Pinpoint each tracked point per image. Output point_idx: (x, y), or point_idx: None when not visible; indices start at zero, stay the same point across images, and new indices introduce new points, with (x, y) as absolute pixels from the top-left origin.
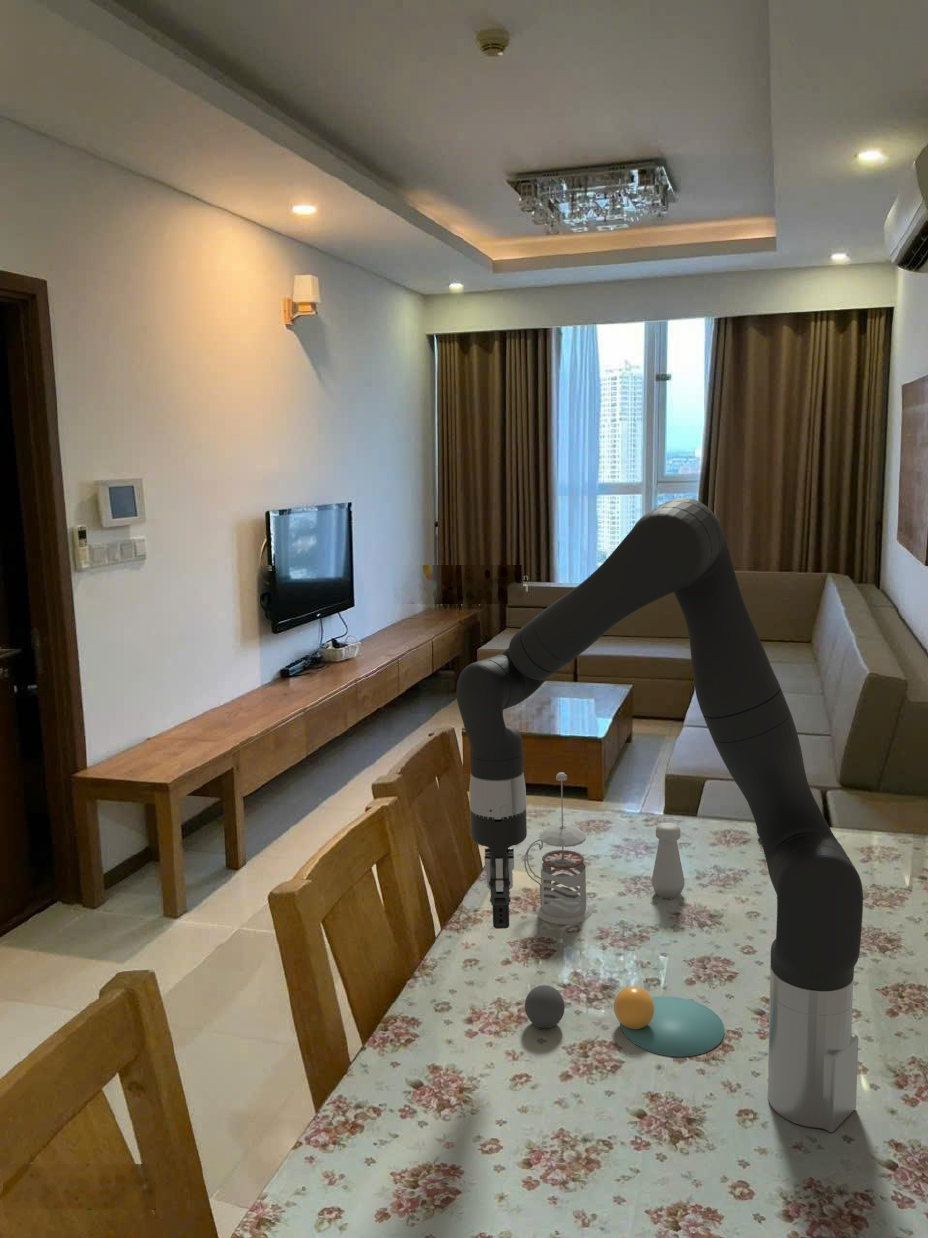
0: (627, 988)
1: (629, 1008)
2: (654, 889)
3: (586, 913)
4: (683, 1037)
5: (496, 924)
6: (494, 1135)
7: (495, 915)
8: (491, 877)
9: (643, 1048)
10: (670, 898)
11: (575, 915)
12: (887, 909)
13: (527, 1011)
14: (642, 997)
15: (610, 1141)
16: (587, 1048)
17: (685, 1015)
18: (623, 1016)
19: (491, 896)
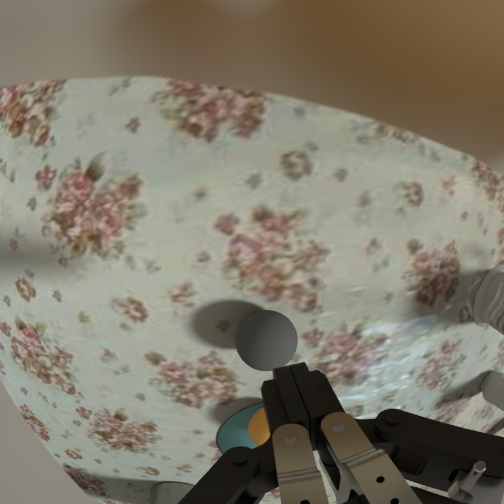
0: None
1: (253, 435)
2: (494, 373)
3: (483, 324)
4: (249, 447)
5: (263, 387)
6: (38, 291)
7: (281, 398)
8: (350, 483)
9: (226, 422)
10: (481, 385)
11: (481, 315)
12: None
13: (248, 320)
14: None
15: (75, 393)
16: (216, 376)
17: None
18: (251, 422)
19: (181, 502)
